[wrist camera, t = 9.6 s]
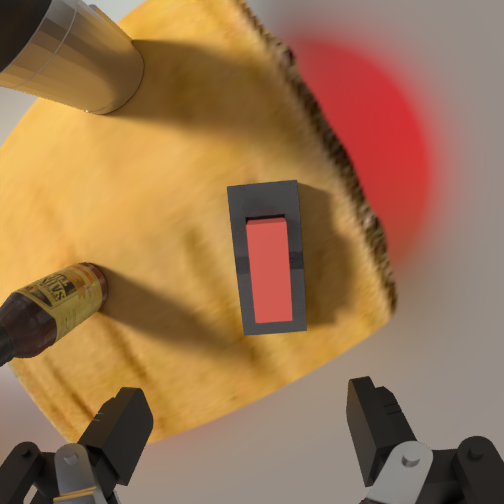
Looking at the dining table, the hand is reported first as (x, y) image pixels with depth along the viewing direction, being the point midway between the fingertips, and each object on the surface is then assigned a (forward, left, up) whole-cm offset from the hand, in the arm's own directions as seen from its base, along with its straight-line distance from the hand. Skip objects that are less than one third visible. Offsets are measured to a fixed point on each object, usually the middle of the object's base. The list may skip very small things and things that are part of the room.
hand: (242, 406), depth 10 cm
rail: (-1, +1, -21) cm, 21 cm away
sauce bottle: (+1, -21, -21) cm, 30 cm away
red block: (-1, +1, -21) cm, 21 cm away
